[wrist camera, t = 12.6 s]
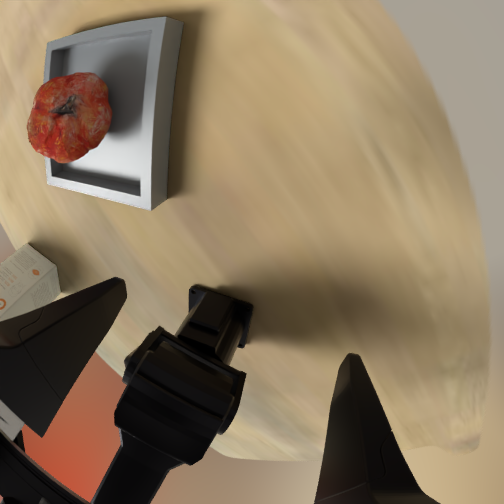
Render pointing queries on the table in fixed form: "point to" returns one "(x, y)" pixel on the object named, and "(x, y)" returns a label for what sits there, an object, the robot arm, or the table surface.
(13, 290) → the small box
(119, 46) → the tray
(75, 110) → the pomegranate
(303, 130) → the table surface
